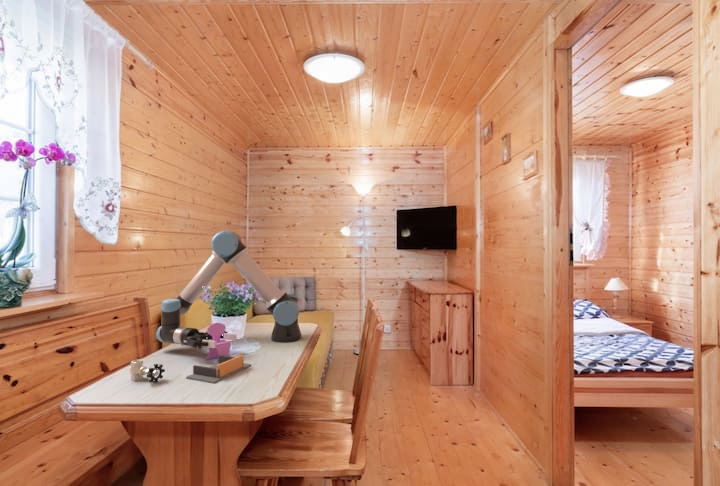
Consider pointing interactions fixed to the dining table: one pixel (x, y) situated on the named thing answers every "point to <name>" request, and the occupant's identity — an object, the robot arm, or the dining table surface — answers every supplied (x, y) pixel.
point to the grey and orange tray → (219, 369)
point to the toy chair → (218, 341)
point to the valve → (145, 371)
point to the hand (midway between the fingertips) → (225, 341)
